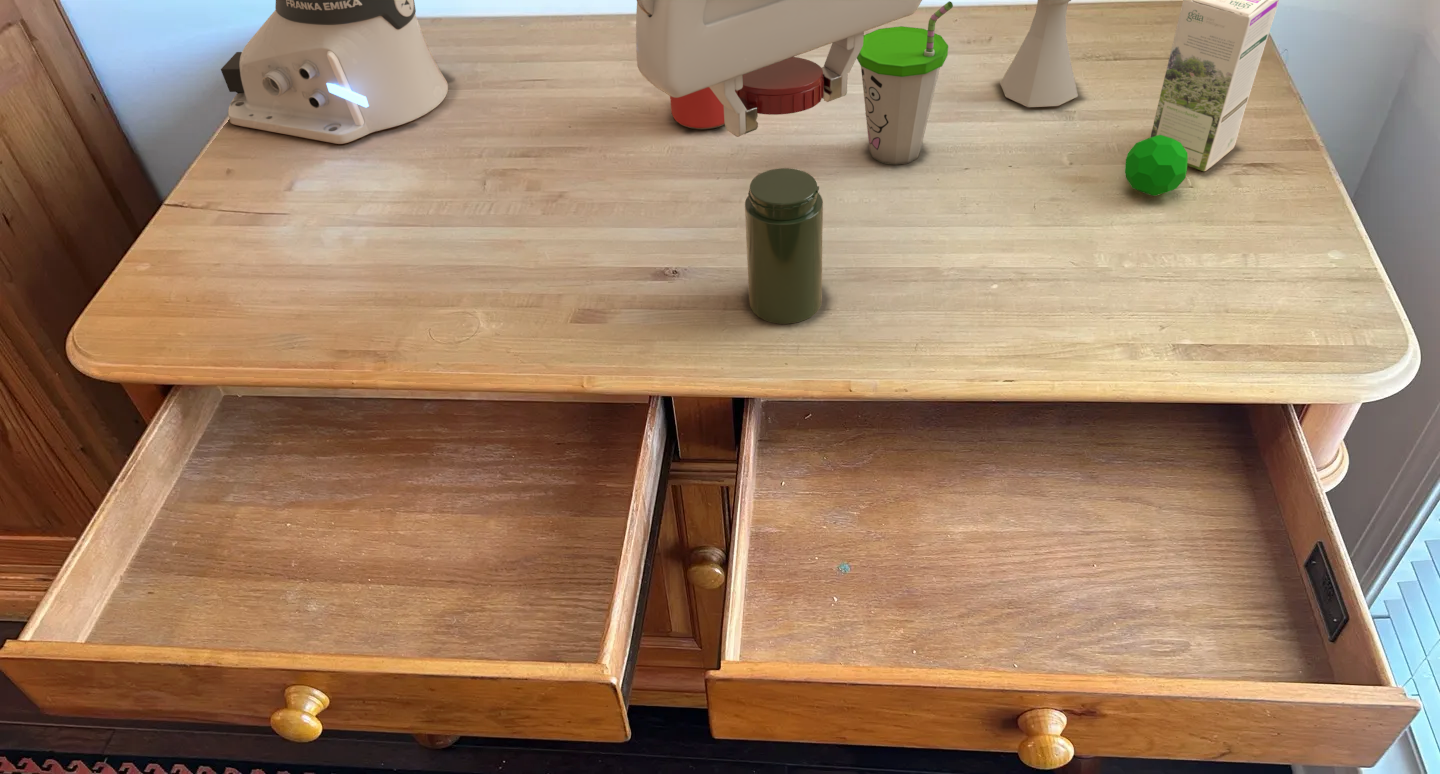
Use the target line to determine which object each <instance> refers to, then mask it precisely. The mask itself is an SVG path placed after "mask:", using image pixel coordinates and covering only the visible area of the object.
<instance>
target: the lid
mask: <svg viewBox="0 0 1440 774" xmlns="http://www.w3.org/2000/svg"><path fill="white" fill-rule="evenodd" d="M823 78H824V77H823V70H822V67H821V66H820V65H819V64H818V63H816V62H814V61H812V60H809V59H806V58H803V57H798V56H794V57H791V58H789V59H786V60H783V61H780V62H777V63H775V64H772V65H769V66H766V67H763V68H761V69H758V70H755V71H752V72H749V73H747V74H744V75H743V87H742V89H740V90H735V92H736V94H737V95H738V97H739V98H740V97H741V98H743V99H745V100H746V101H748V103H752V104H753V105H755V106H756V107H757V111H758V115H771V116H777V115H789V114H795V113H796V114H797V113H800V112H805V111H807V110H809V109H812V108H814V107H816V106H818V104H820V103H821V102H822V100H823V98H822V97H823V93H824V81H823Z"/></svg>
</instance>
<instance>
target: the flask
mask: <svg viewBox="0 0 1440 774" xmlns="http://www.w3.org/2000/svg"><path fill="white" fill-rule="evenodd" d="M1071 1H1072V0H1037V3H1036V9H1035V13H1034V16H1033V18H1032V21H1031V25H1030V28H1029V30H1028V32H1027V33H1026V36H1025V37H1024V39H1023V42H1022V43H1021V45H1020V46H1019V49H1018V51H1017V53H1016V54H1015V56H1014V58H1013V60H1012V61H1011V63H1010V65H1009V67H1008V69H1006V72H1005V73H1004V75H1003V77H1002V78H1001V80H1000V83H999V84H1000V87H1001V89H1002V91H1003V94H1004V97H1005V98H1007V99H1009V100H1012V101H1014V102H1016V103H1018V104H1020V105H1022V106H1025V107H1026V108H1039V107H1042V108H1043V107H1059V106H1061V105H1064V104H1065V103H1068V102H1069V101H1071V100H1073V99H1076V98H1078V97H1079V94H1078V89H1077V84H1076V79H1075V75H1074V69H1073V66H1072V60H1071V55H1070V54H1071V53H1070V49H1069V43H1068V37H1067V11H1068V5H1069V2H1071Z"/></svg>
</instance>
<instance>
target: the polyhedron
mask: <svg viewBox="0 0 1440 774" xmlns="http://www.w3.org/2000/svg"><path fill="white" fill-rule="evenodd" d="M1187 162H1188V155H1187V152H1186V150H1185V149H1184V147H1183V146H1182V144H1181V143H1180V142H1178V141H1176V140H1174V139H1172V138H1169V137H1166V136H1163V135H1157V136H1154V137H1151V138H1150V137H1148V138H1144V139H1143V140H1140V141H1137V142H1135V143H1134V145H1133V146H1132V147H1131V149H1130V150H1129V151H1128V152H1127V155H1126V157H1125V165H1124V175H1125V179H1126V181H1127V182H1128V183H1129V185H1130V187H1131V188H1132V189H1133V190H1136V191H1138V192H1140V193H1143V194H1145V195H1147V196H1151V197H1157V196H1159V195H1163V194H1167V193H1169V192H1171V191H1174V190H1176V189H1178V187H1179V186H1180V185H1181V184H1182V182H1183V181H1184V180H1186V177H1187V173H1188V166H1187Z"/></svg>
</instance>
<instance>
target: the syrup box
mask: <svg viewBox="0 0 1440 774" xmlns="http://www.w3.org/2000/svg"><path fill="white" fill-rule="evenodd" d="M1279 2H1280V0H1182V3H1181V7H1180V12H1179V16H1178V20H1177V25H1176V27H1175V33H1174V37H1173V41H1172V45H1171V50H1170V53H1169V57H1168V62H1167V66H1166V70H1165V74H1164V78H1163V82H1162V86H1161V90H1160V95H1159V98H1158V102H1157V107H1156V112H1155V115H1154V119H1153V123H1152V128H1151V132H1150V136H1149V138H1151V137H1154V136H1157V135H1163V136H1166V137H1169V138H1172V139H1174V140H1176V141H1178V142H1180V143H1181V144H1182V146H1183V147H1184V149H1185V150H1186V152H1187V155H1188V162H1187V167H1190V168H1193V169H1195V170H1199V171H1202V172H1207V171H1208V170H1209V169H1210V168H1212V167H1213V166H1214V165H1216V164H1217V163H1218V162H1219V161H1220V160H1222V159H1223V158H1224V157H1225V156H1226V155H1227V154H1228V153H1230V152H1231V151H1232V150H1233V149H1234V148H1235V146H1236V144H1237V141H1238V137H1239V133H1240V130H1241V126H1242V122H1243V119H1244V115H1245V111H1246V109H1247V105H1248V102H1249V99H1250V95H1251V92H1252V89H1253V86H1254V83H1255V80H1256V77H1257V76H1256V75H1257V73H1258V70H1259V67H1260V64H1261V60H1262V57H1263V54H1264V50H1265V48H1266V45H1267V41H1268V39H1269V35H1270V32H1271V30H1272V29H1271V28H1272V25H1273V23H1274V19H1275V16H1276V12H1277V9H1278V5H1279Z"/></svg>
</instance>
